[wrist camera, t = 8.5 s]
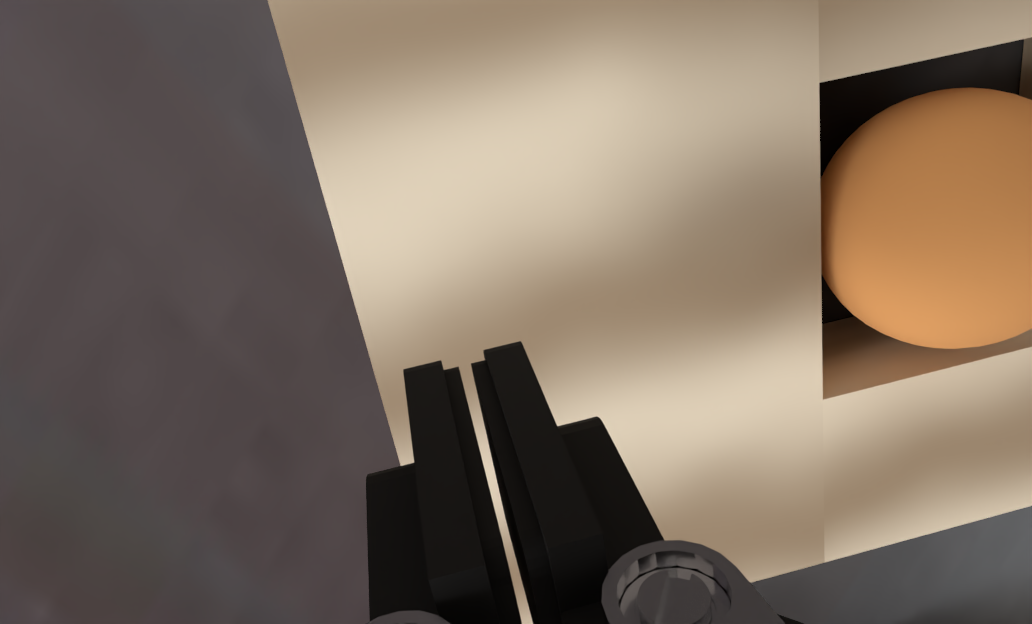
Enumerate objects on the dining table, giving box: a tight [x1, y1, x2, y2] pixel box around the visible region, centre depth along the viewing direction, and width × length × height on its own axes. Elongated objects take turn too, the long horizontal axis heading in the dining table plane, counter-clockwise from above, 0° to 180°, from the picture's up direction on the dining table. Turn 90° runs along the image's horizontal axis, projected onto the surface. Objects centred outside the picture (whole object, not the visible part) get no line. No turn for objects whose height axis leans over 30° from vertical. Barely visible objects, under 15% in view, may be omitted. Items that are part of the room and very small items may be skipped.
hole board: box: [268, 0, 1032, 624], centre depth 19 cm, size 18×20×4 cm
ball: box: [820, 87, 1032, 349], centre depth 18 cm, size 6×6×6 cm
